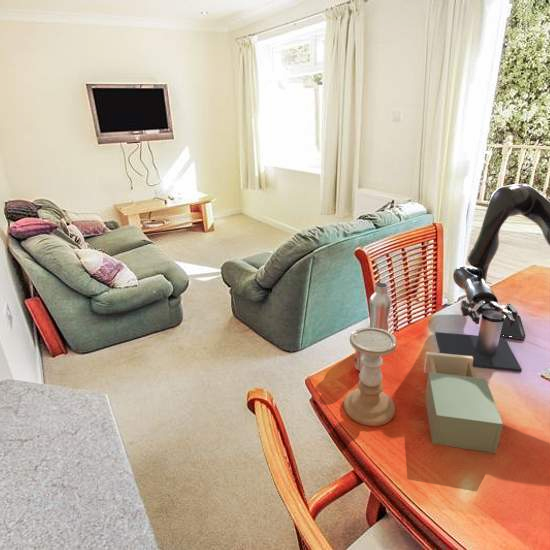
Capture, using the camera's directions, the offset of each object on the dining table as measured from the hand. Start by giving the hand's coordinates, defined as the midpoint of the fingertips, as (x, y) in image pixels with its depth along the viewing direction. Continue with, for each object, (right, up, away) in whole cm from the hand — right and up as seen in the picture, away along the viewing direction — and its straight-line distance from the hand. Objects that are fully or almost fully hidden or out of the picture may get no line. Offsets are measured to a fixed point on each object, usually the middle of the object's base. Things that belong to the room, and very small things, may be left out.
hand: (494, 322), depth 105 cm
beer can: (-36, -14, +3) cm, 39 cm away
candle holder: (-38, -20, -12) cm, 45 cm away
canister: (+1, -9, +6) cm, 11 cm away
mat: (-2, -10, +7) cm, 12 cm away
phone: (+15, -4, +18) cm, 24 cm away
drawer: (-16, -16, -8) cm, 24 cm away
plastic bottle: (-29, -8, +14) cm, 33 cm away
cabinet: (-19, -21, -18) cm, 34 cm away
